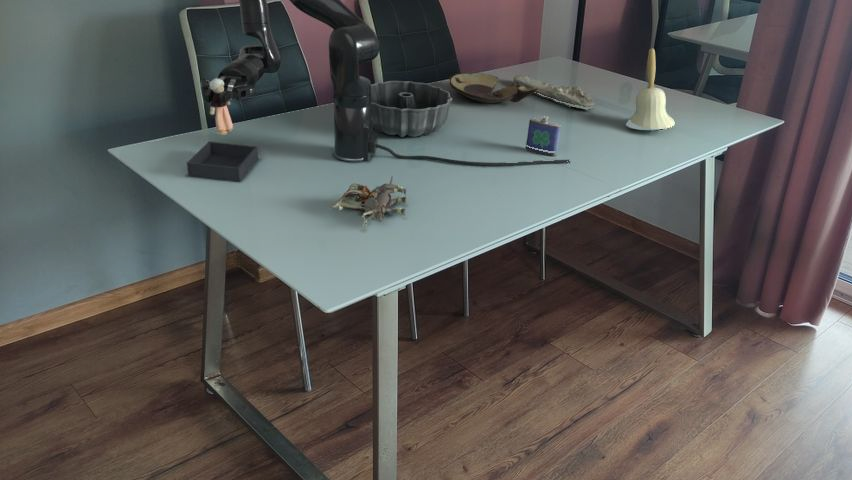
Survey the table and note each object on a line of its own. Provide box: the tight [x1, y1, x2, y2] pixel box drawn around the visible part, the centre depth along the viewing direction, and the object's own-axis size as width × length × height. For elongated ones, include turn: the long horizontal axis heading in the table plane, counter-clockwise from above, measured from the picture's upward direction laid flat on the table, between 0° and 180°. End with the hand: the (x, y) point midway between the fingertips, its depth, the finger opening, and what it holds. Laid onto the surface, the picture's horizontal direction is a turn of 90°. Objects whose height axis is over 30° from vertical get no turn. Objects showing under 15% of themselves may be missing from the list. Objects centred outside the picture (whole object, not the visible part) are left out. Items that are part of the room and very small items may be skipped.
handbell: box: [629, 47, 676, 130], centre depth 236 cm, size 15×15×25 cm
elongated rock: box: [512, 75, 596, 109], centre depth 259 cm, size 35×5×10 cm
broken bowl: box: [448, 72, 538, 104], centre depth 247 cm, size 22×30×8 cm
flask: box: [525, 115, 562, 157], centre depth 212 cm, size 9×3×11 cm, turn 68°
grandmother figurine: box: [209, 77, 234, 136], centre depth 178 cm, size 8×4×13 cm, turn 177°
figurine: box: [329, 175, 407, 228], centre depth 171 cm, size 20×6×17 cm
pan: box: [186, 141, 260, 183], centre depth 184 cm, size 12×14×3 cm
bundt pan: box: [371, 80, 453, 138], centre depth 218 cm, size 26×26×10 cm
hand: (214, 99), depth 174 cm, fingers closed on grandmother figurine, 2 cm apart
